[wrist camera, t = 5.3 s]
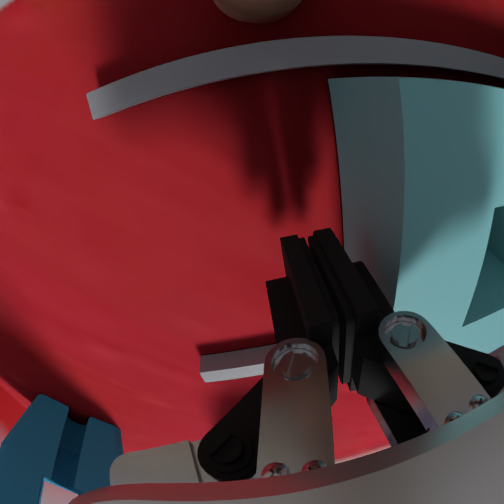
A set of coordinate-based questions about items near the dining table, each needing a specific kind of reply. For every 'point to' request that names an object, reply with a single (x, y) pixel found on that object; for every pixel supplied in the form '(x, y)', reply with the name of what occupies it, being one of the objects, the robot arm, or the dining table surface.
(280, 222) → the dining table surface
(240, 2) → the dowel
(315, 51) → the backstop wall
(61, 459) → the block
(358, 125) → the socket block
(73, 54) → the dining table surface
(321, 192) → the dining table surface
